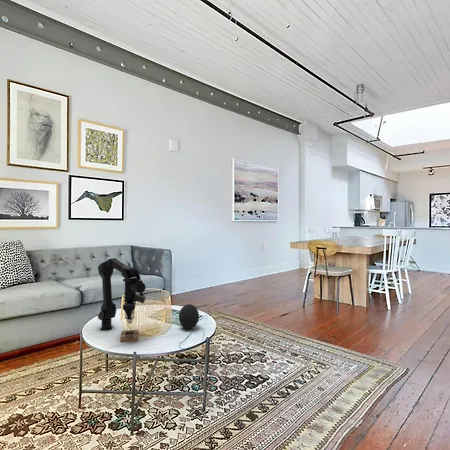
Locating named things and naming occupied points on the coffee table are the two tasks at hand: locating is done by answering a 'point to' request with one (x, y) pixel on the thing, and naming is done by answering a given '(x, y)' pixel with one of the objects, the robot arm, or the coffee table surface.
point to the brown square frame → (129, 336)
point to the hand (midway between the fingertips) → (129, 317)
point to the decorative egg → (188, 316)
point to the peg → (131, 317)
